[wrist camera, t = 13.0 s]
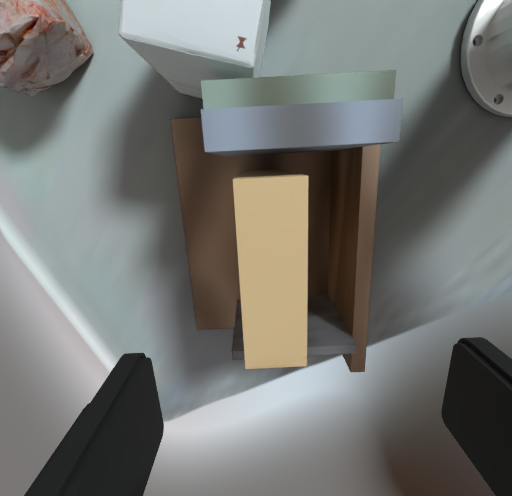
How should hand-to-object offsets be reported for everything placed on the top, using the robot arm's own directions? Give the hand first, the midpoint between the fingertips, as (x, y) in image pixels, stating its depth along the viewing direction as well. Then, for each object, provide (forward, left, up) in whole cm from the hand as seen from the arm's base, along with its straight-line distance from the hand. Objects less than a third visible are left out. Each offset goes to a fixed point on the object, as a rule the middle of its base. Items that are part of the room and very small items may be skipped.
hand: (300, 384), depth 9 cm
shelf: (0, 0, -23) cm, 23 cm away
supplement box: (+3, -16, -23) cm, 28 cm away
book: (0, 0, -21) cm, 21 cm away
